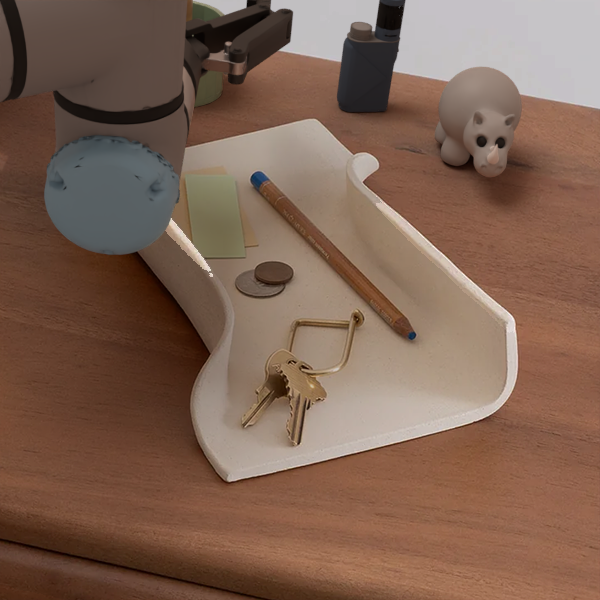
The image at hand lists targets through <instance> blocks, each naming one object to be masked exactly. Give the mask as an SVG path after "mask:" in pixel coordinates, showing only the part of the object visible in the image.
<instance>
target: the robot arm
mask: <svg viewBox="0 0 600 600" xmlns="http://www.w3.org/2000/svg"><path fill="white" fill-rule="evenodd" d="M271 6H272V0H246V6H245V7H244V8H241V9H238V10H235V11H233V12H229V13H227V14H224V15H223V16H220V17H217V18H215V19H212V20H209V21H206V22H205V21H203V20H201V19H199V18H196V19H193V20H190V21H187V22H186V14H187V0H0V103H4V102H6V101H14V100H18V99H23V98H27V97H33V96H36V95H42V94H46V93H50V92H52V95H53V105H54V107H53V109H54V127H55V128H54V129H55V131H54V132H55V148H54V153H53V154H51V157H50V162H48V163H47V165H46V179H45V184H44V191H43V192H44V193H43V198H44V205H45V208H46V212H47V214H48V216H49V218H50V221H51V222H52V224H53V225H54V226H55V228H56V229H57V231H58V232H59V233H60V234H62V236H64V237H65V238H66V239H67V240H69V241H70V242H71V243H73V244H74V245H76V246H77V247H79V248H81V249H83V250H87V251H89V252H92V253H96V254H101V255H102V254H103V255H107V256H116V255H117V256H122V255H129V254H133V253H136V252H139V251H142V250H144V249H146V248H148V247H150V246H151V245H152V244H154V243H156V241H157V240H159V239H160V238H161V236H162V235H163V234H164V233H165V232H166V230H167V229H168V226H169V225H170V222H171V219H172V216H173V213H174V210H175V207H176V205H177V204H178V203H179V201H180V197H181V193H180V192H181V190H180V184H181V177H182V171H183V165H184V160H185V159H184V158H185V154H186V153H185V152H186V146H187V143H188V138H189V134H190V129H191V124H192V120H193V116H194V115H193V114H194V109H195V107H194V105H195V101H196V96H197V91H198V86H199V80H200V78H201V77H202V76H204V75H205V74H207V72H208V71H209V70H210V71H217V72H223V74H224V76H227V77H226V79H227V80H226V81H227V83H228V84H230V85H236V86H237V85H242V84H243V83H244V82H245V80H246V77H247V74H248V73H249V72H250V71H252V70H253V69H255V68H256V67H257V66H259V65H260V64H262V63H263V62H265V61H267V59H269V58H270V57H272V56H273V55H275V54H276V53H277V52H279V51H280V50H282V49H283V48H284V47H286V46H287V45H289V44H290V43H291V41H292V30H293V19H294V11H293V10H292V9H290V8H279V9H277V10H276V11H274V10H272V9H271V8H272V7H271ZM192 35H193V36H192Z"/></svg>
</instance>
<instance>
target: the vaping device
mask: <svg viewBox="0 0 600 600" xmlns="http://www.w3.org/2000/svg"><path fill="white" fill-rule="evenodd" d="M405 5H406V0H378V7H377V13H376V21H375V28H374V30H373V25H371V24H370V23H368V22H364V21H354V22H352V23H351V24H350V27H349V32H347V34H346V37H345V38H344V41H343V45H342V53H341V60H340V69H339V75H338V83H337V84H338V85H337V92H336V102H337V103H338V105H337V106H338V107H339V108H340V110H342V111H344V112H347V113H373V112H374V113H375V112H386V111H387V110H388V106H389V98H390V92H391V86H392V81H393V80H392V79H393V73H394V68H395V63H396V61H397V59H398V53H399V52H400V48H399V46H400V41H401V32H402V31H401V30H402V25H403V18H404V12H405Z"/></svg>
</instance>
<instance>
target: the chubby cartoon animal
mask: <svg viewBox="0 0 600 600" xmlns="http://www.w3.org/2000/svg"><path fill="white" fill-rule="evenodd" d="M522 112H523V103H522V96H521V93H520V90H519V89H518V87H517V85H516V84H515V82H514V81H513V79H512V78H510V77H509V75H507V74H506V73H504V72H503V71H500V70H499V69H496V68H494V67H490V66H473V67H470V68H466V69H464V70H462V71H460V72H458V73H457V74H455V75H454V76H453V77H451V79H450V80H448V81H447V83H446V85H445V86H444V88H443V90H442V92H441V94H440V97H439V101H438V112H437V113H438V118H439V120H438V122H437V125H436V127H435V130H434V139H435V141H436V142H438V143H439V144H440V145H441V148H440V153H439V154H440V155H439V156H440V159H441V160H442V161H443V162H445V163H446V164H448V165H451V166H453V167H454V166H455V167H459V166H463V165H465V164H466V163H467V162H468V161H469V159H470V157H471V156H472V157H473V166H474V169H475V170H476V172H477V173H478V174H479V175H481V176H483V177H486V178H495V177H497V176H500V175H501V174H502V173H503V172H504V171H505V169H506V168H507V163H508V153H509V151H510V150H511V148H512V146H513V143H514V140H515V131H516V130H517V128H518V126H519V124H520V121H521V117H522Z"/></svg>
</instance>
